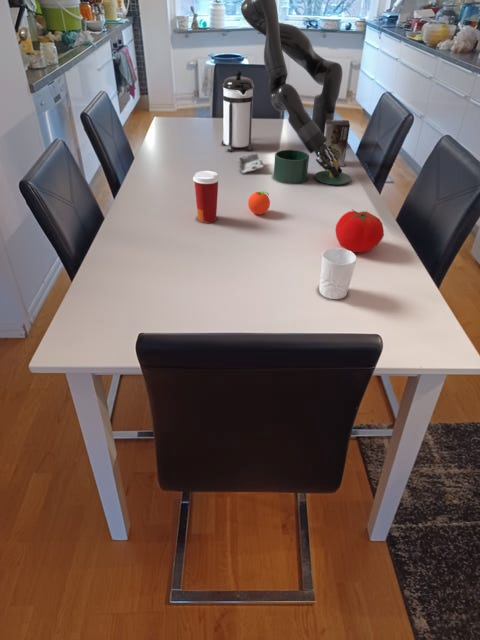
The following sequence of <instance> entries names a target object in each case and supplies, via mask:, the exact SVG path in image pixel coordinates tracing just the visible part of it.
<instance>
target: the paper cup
mask: <svg viewBox="0 0 480 640" xmlns="http://www.w3.org/2000/svg"><path fill="white" fill-rule="evenodd" d="M192 180H193V182H194V189H195V190H194V191H195V201H196V212H197V219H198V221H199V222H202V223H205V224H208V223H210V224H211V223H213V222H215V221H216V220H217V209H218V192H219V181H220V177H219V175H218V173H217V172H215V171H211V170H201V171H197V172H195V173H194V175H193V177H192Z"/></svg>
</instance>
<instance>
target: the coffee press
mask: <svg viewBox="0 0 480 640" xmlns="http://www.w3.org/2000/svg"><path fill="white" fill-rule="evenodd" d="M222 88H223V94H222V101H223V107H222V108H223V110H222V111H223V113H222V115H223V116H222V117H223V123H222V124H223V128H222V129H223V130H222V131H223V132H222V133H223V135H222V136H223V138H222V139H223V140H222V141H221V145H222V146H225V145H226V146H227V152H230V153H231V152H232V151H233V149H234V148H247V149H248V150H249V151H252V150H253V149H254V147H253V145H252V129H253V127H252V126H253V103H254V102H253V101H254V88H255V85H254V82H253V80H252V79H251V78H249V77H245V76H242V71H241V70H239V69H238V70H236V71H235V76H229V77H227V78H225V80H224V81H223V82H222Z"/></svg>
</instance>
